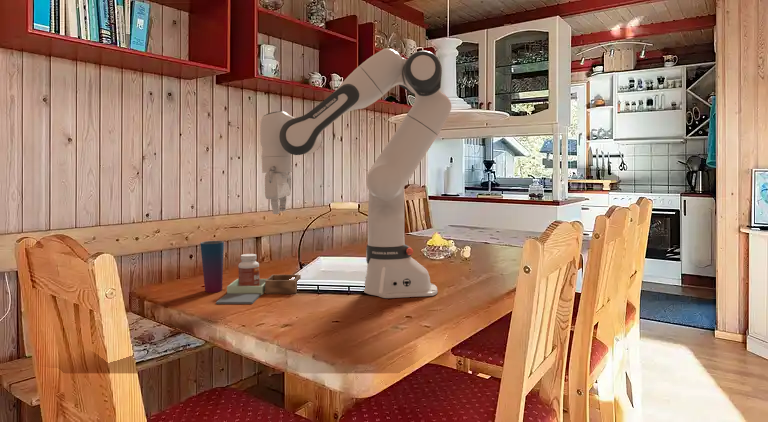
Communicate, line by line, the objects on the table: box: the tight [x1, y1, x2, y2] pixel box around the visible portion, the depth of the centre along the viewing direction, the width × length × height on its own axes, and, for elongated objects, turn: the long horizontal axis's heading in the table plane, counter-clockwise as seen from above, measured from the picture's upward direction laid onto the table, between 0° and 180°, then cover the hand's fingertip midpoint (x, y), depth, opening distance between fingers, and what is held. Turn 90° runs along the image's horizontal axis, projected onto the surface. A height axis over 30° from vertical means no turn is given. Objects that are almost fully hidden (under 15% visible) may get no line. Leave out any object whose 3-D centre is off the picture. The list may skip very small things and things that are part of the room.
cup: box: [199, 240, 225, 294], centre depth 163 cm, size 7×7×15 cm
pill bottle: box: [237, 253, 261, 286], centre depth 163 cm, size 6×6×11 cm
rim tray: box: [226, 278, 268, 296], centre depth 163 cm, size 10×10×2 cm
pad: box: [215, 292, 262, 305], centre depth 153 cm, size 10×10×1 cm
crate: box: [264, 274, 302, 295], centre depth 163 cm, size 9×9×4 cm
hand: (279, 212), depth 161 cm, fingers open, 8 cm apart
